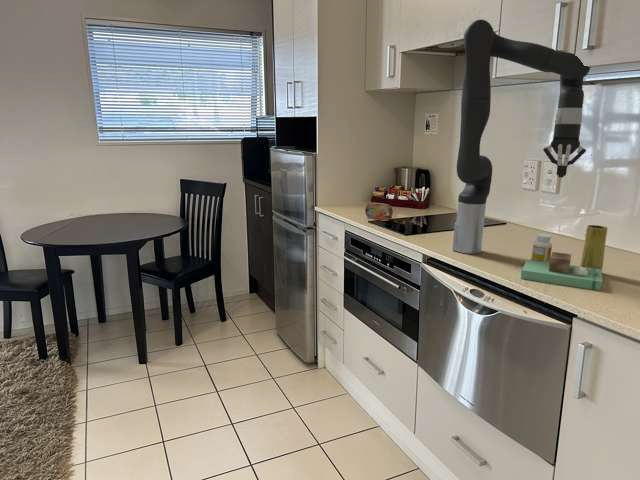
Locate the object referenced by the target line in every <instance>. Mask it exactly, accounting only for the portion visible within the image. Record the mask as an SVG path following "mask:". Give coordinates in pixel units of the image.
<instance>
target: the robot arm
mask: <svg viewBox="0 0 640 480" xmlns="http://www.w3.org/2000/svg"><path fill="white" fill-rule="evenodd" d="M462 40H463V41H462V42H463V43H462V44H463V47H464V50H465V70H464V71H465V72H464V75H463V76H464V77H463V82H462V90H461V99H460V100H461V103H460V131H459V135H460V136H459V147H458V153H457V161H456V174H457V177H458V179H459V180H460V181H461V182H462V183H463V184H465V187H464V188H463V190H462V191H461V192H460V193H459V194H458V198H457V200H458V201H457V210H456V211H457V213H456V222H455V223H454V228H453V240H452V251H454V252H458V253H462V254H469V255H470V254H481V252H482V248H483V239H484V228H485V227H484V226H485V216H486V209H487V207H486V206H487V199H488V197H489V194H490V192H491V185H492V178H493V165H492V162H491V160H490V158H488V157H487V156H486V155H481V153H480V152H481V150H480V149H481V148H480V147H481V140H482V136H483V133H484V131H485V128H486V126H487V124H488V121H489V119H490V115H491V102H492V101H491V99H492V97H491V94H492V92H491V91H492V90H491V89H492V88H491V87H492V86H491V85H492V84H491V73H490V72H491V71H490V64H491V58H492V57H493V58H497V59H501V60H505V61H510V62H513V63H516V64H518V65H522V66H523V67H524V66H525V67H528V68H530V69H533V70H537V71H540V72H544V73H554V74H556V75H559V76H560V77H559V90H560V91H559V96H558V103H557V111H556V115H555V119H554V129H553V137H552V139H551V142H550V144H549V145H548V146H546V147H544V148H543V149H542V150H543V152H544V153H545V155H546V156H547V158H548V159H549V161H550V162H551V163H552V164H554V165H556V166H557V167H556V175H557V176H558V178H564V177H566V176H567V171H568V166H570V165H573V164H575V163H576V162H577V161H578V160H579V159H580V158H581V157H582V156H583V155H584V154H585V153H586V151H587V150H586V148H584V147H582V146H581V143H580V136H581V135H580V134H581V127H582V121H583V107H584V102H585V101H584V100H585V99H584V98H585V92H584V89H583V86H584V85H583V84H584V78H586V76H587V75H588V74H589V73H590V70H591V66H590V67H588V66H584V65H583V63H582V62H581V60H580V59H579V58H578V57H577V56H575V55H574V54H575V53H574V54H573V53H572V52H568V51H560V50H557V51H555V50H556V49H555V50H554V48H551V47H549V46H546V45H542V44H539V43H535V42H528V41H522V40H521V41H520V40H513V39H510V38H507V37H503V36H501V35H498V34H497V33H495V32H494V27H493V26H492V25H491V23H490V22H489V21H487V20H485V19H477V20H475V21H472V22H471V23H470V24H469V25H468V26H467V27H466V29H465V30H464V34H463V39H462ZM576 150H577V151H576ZM552 151H554V152H555V154H556V155H557V159H556V158H555V156H553V154H552V153H551V152H552ZM575 151H576V152H577V154H576V155H575V156H574V157H573V158H571V160H569V159H570V156H571V155H572V154H574V152H575ZM563 155H564V158H563ZM563 159H564V160H563Z"/></svg>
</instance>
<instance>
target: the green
mask: <svg viewBox="0 0 640 480" xmlns="http://www.w3.org/2000/svg"><path fill="white" fill-rule="evenodd" d="M549 265H550V262H543V261H536V260H531V259H526V261H525V263H524V265H523V267H522V269H521V272H520V279H521V280H522V279H523V280H527V281H535V282H542V283H547V284H553V285H554V284H555V285H560V286H565V287H566V286H567V287H574V288H579V289H587V290H593V291H602V286H603V271H602V272H601V269H595V268H587V267H584V268H585V269H586V270H587V271H588V275H578V274H573V273H572V272H573V270H574V269H575V268H576V267H580V266H581V265H580V266H579V265H571V264H570V267H569V273H568V274H564V273H557V272H550V271H549Z"/></svg>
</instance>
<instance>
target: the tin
mask: <svg viewBox="0 0 640 480" xmlns="http://www.w3.org/2000/svg"><path fill="white" fill-rule="evenodd" d="M393 213H394V211H393V207H392V206H391V205H390V204H387V203H381V202H369V203H368V204H367V205H366V206H365V215H366V217H367V219H368V218H369V219H368V220H370V219H374V220H373V221H375V220H380V221H387V222H390V220H392V219H393V215H394V214H393ZM380 221H379V222H380Z"/></svg>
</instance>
